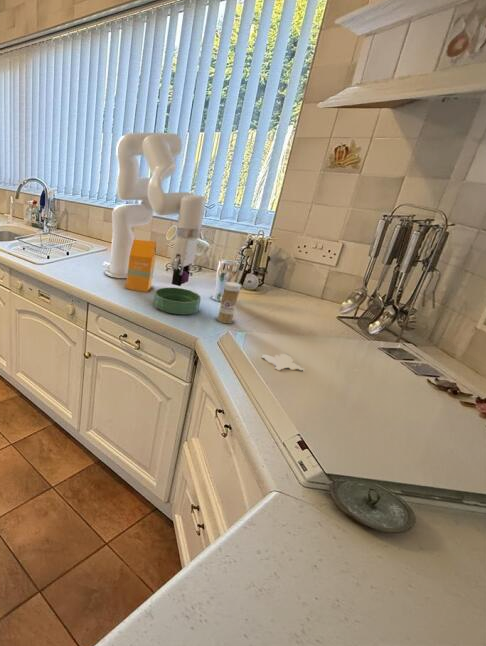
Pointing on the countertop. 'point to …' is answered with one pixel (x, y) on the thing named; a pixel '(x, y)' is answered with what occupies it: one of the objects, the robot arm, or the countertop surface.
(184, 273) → the ball
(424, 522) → the countertop surface
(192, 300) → the bowl
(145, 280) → the orange juice
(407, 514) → the lid
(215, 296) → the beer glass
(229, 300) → the sprinkles bottle
